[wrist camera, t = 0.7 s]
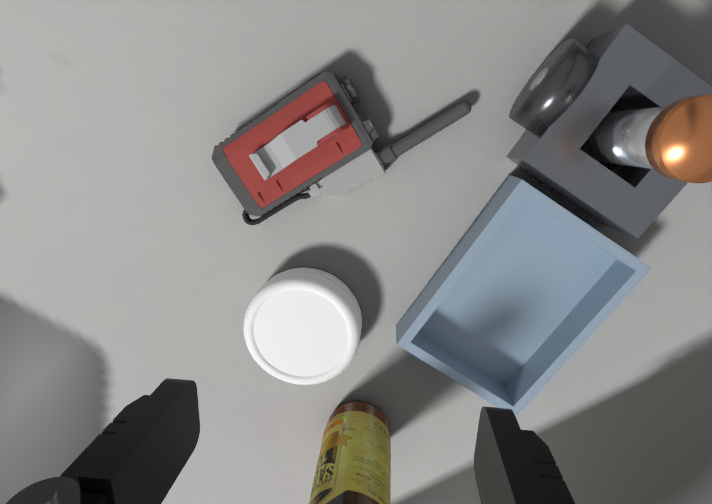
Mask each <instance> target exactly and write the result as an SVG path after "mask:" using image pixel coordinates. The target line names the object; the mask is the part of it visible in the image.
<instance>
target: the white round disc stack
mask: <svg viewBox="0 0 712 504" xmlns="http://www.w3.org/2000/svg"><path fill="white" fill-rule="evenodd" d="M361 328H362V316H361V311H360V307H359V304H358V302H357V300H356V298H355V296H354V294H353V293H352V292H351V290H350V289H349V288H348V287H347V286H346V285H345V284H344V283H343V282H342V281H341V280H340V279H338V278H337V277H335V276H334V275H332V274H330V273H328V272H325V271H322V270H319V269H315V268H294V269H289V270H286V271H283V272H281V273H279V274H277V275H275V276H274V277H272V278H271V279H269V280H268V281H267V282H266V283H265V284H264V285H263V287H262V288H261V289H260V290H259V291H258V293H257V294H256V295H255V296H254V297H253V299H252V300H251V302H250V304H249V306H248V308H247V311H246V314H245V318H244V337H245V341H246V344H247V347H248V349H249V351H250V353H251V355H252V356H253V358H254V359H255V361H256V362H257V363H258V364H259V365H260V366H261V367H262V368H263V369H264V370H265V371H267V372H268V373H269V374H271V375H273V376H274V377H276V378H278V379H280V380H283V381H286V382H289V383H293V384H300V385H310V384H317V383H321V382H324V381H327V380H329V379H332V378H333V377H335V376H337V375H338V374H339V373H341V372H342V371H343V370H344V369H345V368H346V367H347V366H348V365H349V364H350V362H351V361H352V360H353V358H354V356H355V354H356V352H357V349H358V347H359V342H360V335H361Z"/></svg>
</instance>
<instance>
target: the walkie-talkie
mask: <svg viewBox="0 0 712 504" xmlns="http://www.w3.org/2000/svg"><path fill="white" fill-rule="evenodd" d="M287 96H288V97H286V98H285V99H283V100H282V101H280V102H279V103H277V104H276V105H277V106H275V107H272V108H271V110H269V111H266V112H265V114H263V115H260V116H259V118H258V119H254V120H253V122H252V123H248V124H247V126H246V127H242V129H241V130H240V131H236V133H235V134H232V135H230V138H226V139H225V141H224V142H220V143H219V145H218V146H215V147H214V151H213V155H212V160H213V162H214V164H215V166H216V167H217V169H218V170H219V172H220V173H221V175H222V176H223V178H224V179H225V181H226V182H227V184H228V185H229V187H230V188H231V190H232V191H233V193H234V194H235V196H236V197H237V199H238V200H239V202H240V203H241V205H242V206H243V208H244V209H245V210H244V211H243V215H242V216H243V219H244V221H245V222H246V223H247V224H249V225H255V224H259V223H261V222H262V221H264V220H265V219H267V218H269V217H270V216H272V215H273V214H275V213H277V212H278V211H280V210H282V209H283V208H285V207H286V206H288V205H290V204H292V203H293V202H295V201H297V200H299V199H307V198H309V197H311V198H312V199H313V198H314V197H316V196H317V195H319V194H321V195H331V196H340V197H343V196H345V195H346V194H348V193H350V192H351V191H353V190H355V189H356V188H358V187H360V186H361V185H363V184H365V183H366V182H368V181H370V180H372V179H373V178H379V177H380V176H382V175H383V174H385V173H386V171H385V170H384V167H385V166H387V165H388V164H390V163H391V162H393V161H395V160H396V158H397V157H398V156H400V155H401V154H403V153H404V152H406V151H408V150H409V149H411V148H413V147H414V146H416V145H418V144H419V143H421V142H423V141H424V140H426V139H428V138H429V137H431V136H432V135H434V134H436V133H437V132H439V131H441V130H442V129H444V128H446V127H447V126H449V125H451V124H452V123H454V122H456V121H457V120H459V119H460V118H462V117H464V116H465V115H467V114H469V112H470V111H471V105H470V103H469V102H467V101H462V102H460V103H459V104H457V105H455V106H454V107H452V108H451V109H449V110H447V111H446V112H444V113H442V114H441V115H439V116H438V117H436V118H434V119H433V120H431V121H430V122H428V123H426V124H425V125H423V126H421V127H420V128H418V129H417V130H415V131H413V132H412V133H410V134H408V135H407V136H405V137H404V138H402V139H400V140H399V141H397V142H395V143H394V144H392V145H391V146H390V145H387V146H386V147H384V148H382V149H381V150H379V151H377V152H374V150H373V149H372V146H373V143H374V141H376V140H375V139H377V138H378V137H379V135H378V133H377V132H376V130H375V128H374V127H373V125H372V124H371V122H370V120H369V119H368V120H366V121H362V119H361V118H360V116H359V114H358V113H357V111H356V109H355V108H354V106H353V104H352V101H353V102H354V103H357V102H359V101H360V97H359V95H358V93H357V91H356V90H355V88H354V86H353V84H352V83H351V81H350V79H349V78H348V76H344V77H343V78H342V83H341V84H340V82H339V80H338V79H337V77H336V75H335V74H334V73H333V72H330V71H324V72H323V73H321V74H318V75H317V76H315V77H314V78H312V79H311V80H310V82H308V83H307V84H305V85H304V86H302V87H301V88H299V89H296V90H295V91H293V92H292V93H290V94H289V95H287ZM308 187H309V188H310V189H311V190H310V191H308V193H305V194H299V195H297V194H298V193H300V192H302V191H303V190H305V189H307V188H308ZM295 195H296V196H295ZM290 198H291V199H290ZM282 203H283V204H282ZM274 208H275V209H274ZM269 211H270V212H269ZM249 215H255V216H261V217H260V218H258V219H255V220H252V219H250V217H249Z"/></svg>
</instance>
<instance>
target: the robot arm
mask: <svg viewBox="0 0 712 504" xmlns="http://www.w3.org/2000/svg"><path fill="white" fill-rule="evenodd" d="M199 432H200V420H199V409H198V397H197V386H196V383H195V382H194V381H192V380H180V379H165V380H164V381H163V382H162V383H161V384H160V385H159V386H158V387H157V389H156V390H155V391H154V392H153V393H152V394H151V395H150V396H149V395H144V396H142V397H140V398H139V399H137V400H135V401H134V402H132V403H131V404H129V405H127V406H126V407H125V408H124V409H123V410H122V411H121V412H120V413H119V414H118V415H117V416H116V417H115V418H114V419H113V422H112V423H110V424H109V425H108V426H107V427H106V428H105V429H104V430H103V431H102V434H99V435H98V436H97V437H96V439H95V440H94V441H93V442H92V443H91V444H90V445H89V446H88V447H87V448H86V449H85V450H84V451H83V452H82V453H81V454H80V455H79V457H78V458H77V459H76V460H75V461H74V462H73V463H72V464H71V465H70V466H69V467H68V468H67V469H66V470H65V471H64V472H63V473H62V474H61V475H60V477H52V478H48V479H44V480H41V481H38V482H36V483H34V484H31V485H29V486H27V487H26V488H24V489H22V490H21V491H19V492H18V493H17V494H15V495H14V496H13V497H12V498H11V499H10V500H9V501H8V502H7V503H6V504H161V503H162V501H163V500H164V498H165V496H166V495H167V493H168V492H169V490H170V488H171V487H172V485H173V483H174V482H175V480H176V479H177V477H178V475H179V474H180V472H181V470H182V469H183V467H184V465H185V464H186V462H187V461H188V459H189V457H190V456H191V454H192V452H193V451H194V449H195V447H196V444H197V441H198V438H199ZM474 469H475V478H476V482H477V487H478V491H479V496H480V500H481V504H575V503H574V500H573V498H572V496H571V494H570V492H569V490H568V488H567V485H566V483H565V481H563V479H562V475H561V473H560V471H559V469H558V467H557V466H556V462H555V460H554V458H553V456H552V454H551V452H550V449H549V448H548V446H547V445H546V444H545V443H544V442H543V441H542V440H541V439H540V438H539V437H538V436H537V435H536V433H535V432H534V431H528V430H521V429H520V427H519V424H518V422H517V419H516V417H515V415H514V412H513V411H512V409H505V408H494V407H482V409H481V413H480V420H479V426H478V433H477V440H476V447H475V454H474Z"/></svg>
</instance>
